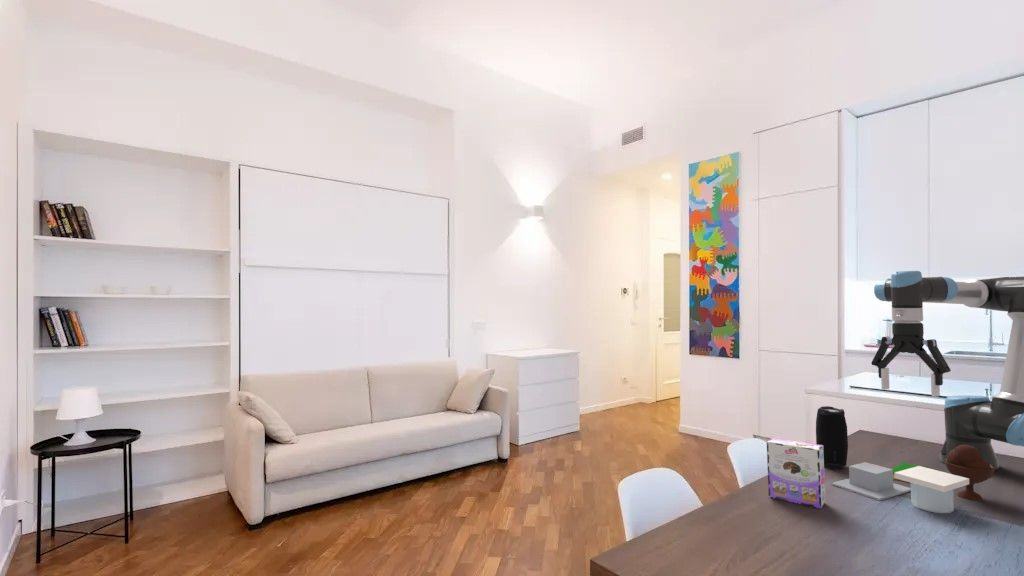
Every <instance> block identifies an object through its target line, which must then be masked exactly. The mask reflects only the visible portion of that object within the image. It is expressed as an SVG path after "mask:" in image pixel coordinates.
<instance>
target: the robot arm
mask: <svg viewBox="0 0 1024 576" xmlns="http://www.w3.org/2000/svg"><path fill="white" fill-rule="evenodd" d="M890 276H891V277H890V278H884V279H879V280H878V281H877V282H875V284H874V287H873V294H874V296H875V298H877V300H879V301H881V302H888V303H890V302H891V320H892V321H893V322H892V324H891V325H892V326H891V329H892V331H891V332H892V337H890V336H882V337H881V338H880V339H881V341H880V345H879V347H878V349H877V351H876V353H875V354H874V356H873V359H872V361H871V365H872V366H875V367H876V368H878V373H877V374H878V378H879V379H880V380H881V383H880V385H881V390H882V391H883V390H890V368H889V367H888V365H889V364H890V363H891V362H892V361H893V360H894V359H895V358H896V357H897V356H898V355H899V354H900V353H903V354H904V353H906V354H915V355H916V356H918V357H919V358H920V359H921V360H922V361H923V363H925V365H926V366H927V367H928V368H929V370H931V371H932V373H930V388H931V391H930V392H931V397H932V398H937V397H940V396H941V395H940V394H941V392H940V391H941V389H940V388H941V387H940V386H943V384H944V381H943V380H944V379H943V377H944V376H943V375H944V374H947V373H951V368H950V366H949V364H948V363H947V361H946V360H945V358H944V355H943V354H942V353H941V351H940V349H939V347H938V344H937V343H938V341H937V340H936V339H934V338H933V339H925V338H924V333H925V332H924V324H923V323H922V322H923V321H924V311H923V309H924V307H923V305H924V304H923V303H928V304H932V303H933V304H950V305H951V304H955V305H963V306H966V307H968V308H975V309H976V308H977V309H983V310H985V309H986V310H991V311H998V312H1007V316H1008V317H1009V318H1010V319H1011V320H1012V323H1011V330H1010V334H1009V335H1010V336H1009V339H1008V345H1007V352H1006V357H1005V362H1004V367H1003V373H1002V377H1001V383H1000V388H999V389H1000V390H999V392H998V393H997V394H995V395H992V397H991V399H990V397H988V396H986V395H965V394H964V395H949V396H947V397H946V398H945V400H944V407H943V410H944V411H943V412H944V427H945V439H944V442H943V444H942V447H941V449H940V451H939V461H941V462H942V463H943V464H945V462H944V459H948V458H947V456H948V454H949V452H950V451H951V450H953V449H955V448H956V447H958V446H960V445H970V446H973V447H975V448H976V449H978V450H979V451H980V452H981V458H983V459H984V460H986V461H987V462H988V463H989V464H991V465H992V466H993V467H994V468H995V471H997V469H998V468H999V469H1000V462H999V460H998V457H997V455H996V452H995V450H994V448H993V445H992V440H993V441H998V442H1002V443H1005V444H1010V445H1012V446H1017V447H1023V448H1024V276H1001V277H991V278H984V279H975V278H974V279H968V280H966V281H955V280H954V279H953V278H950V277H946V276H930V277H929V276H928V277H923V275H922V272H921V271H920V270H900V271H894V272H892V273H891V275H890ZM891 344H893V345H894V346H893V347H892V348H891V349H890V351H889V352H888V353H887V351H888V349H889V347H890V346H891ZM924 346H926V347H927V348H928V351H929V353H930V354H928V353H927V350H926V349H925V347H924ZM886 353H887V354H886ZM930 355H931V356H932V357H931V356H930ZM884 356H885V357H884ZM999 469H998V470H999Z"/></svg>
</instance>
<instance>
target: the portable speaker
mask: <svg viewBox="0 0 1024 576" xmlns="http://www.w3.org/2000/svg"><path fill="white" fill-rule="evenodd" d="M845 412H846V411H845V409H843V408H840V409H839V408H836V407H833V406H829V405H826V406H820V407H819V408H817V411H816V419H815V444H816V445H823V450H824V466H825V467H826V468H827V469H829V470H842V469H843V467H844V468H845V467H846V466H847V462H848V461H847V460H848V451H849V442H848V441H849V440H848V439H849V438H848V424H847V420H846V417H845Z"/></svg>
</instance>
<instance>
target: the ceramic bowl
mask: <svg viewBox="0 0 1024 576" xmlns="http://www.w3.org/2000/svg"><path fill="white" fill-rule="evenodd" d="M910 488H911V491H910V502H911V505H912V506H913V507H915V508H917V509H920V510H922V511H926V512H929V513H935V514H951V513H953V512H954V507H955V506H954V489H953V490H950V491H946V492H942V491H939V490H935V489H932V488H928V487H925V486H921V485H918V484H914V483H910Z"/></svg>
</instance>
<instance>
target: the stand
mask: <svg viewBox="0 0 1024 576" xmlns="http://www.w3.org/2000/svg"><path fill="white" fill-rule="evenodd" d="M848 475H849V476H848V477H849V478H845V479H841V480H837V481H833V482H831V486H834V485H835V486H834V487H837V486H838V488H840V487H841V488H840V489H843V488H844V489H843V490H845V491H846V490H847V491H850V492H852V491H853V493H855V492H856V494H858V495H862V496H864V497H868V498H871V499H874V500H877V501H879V502H880V501H883V500H887V499H890V498H893V497H896V496H900V495H903V494H907V493H909V492H910V493H911V487H908V486H904V485H901V484H898V483H894V479H893V469H892V468H888V467H884V466H881V465H878V464H873V463H869V462H866V461H863V462H861V463H856V464H853V465H849V466H848Z"/></svg>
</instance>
